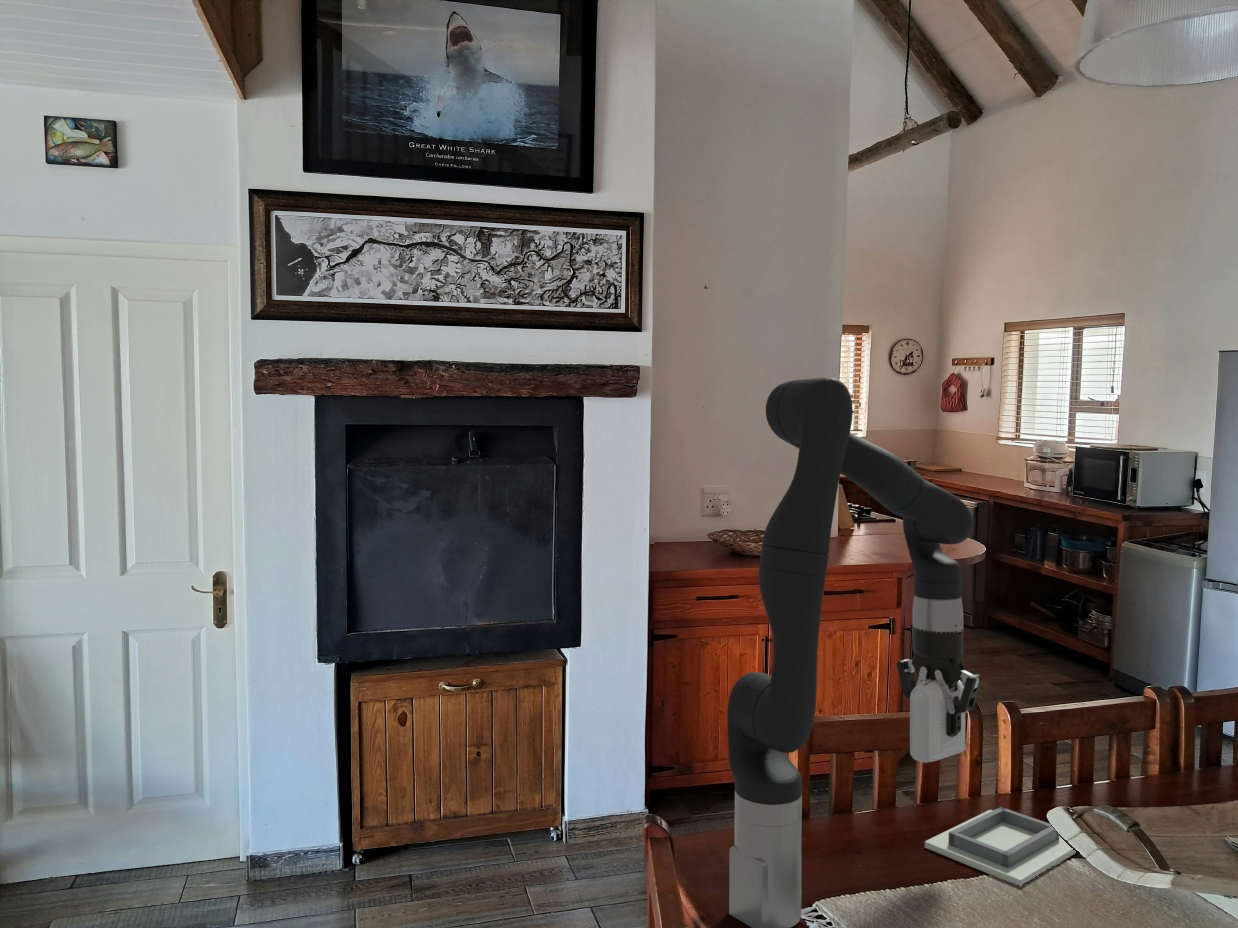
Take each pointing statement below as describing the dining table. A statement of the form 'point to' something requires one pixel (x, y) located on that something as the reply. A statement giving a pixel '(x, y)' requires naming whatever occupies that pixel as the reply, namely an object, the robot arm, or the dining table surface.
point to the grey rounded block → (932, 724)
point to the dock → (1003, 845)
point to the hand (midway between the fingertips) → (938, 730)
